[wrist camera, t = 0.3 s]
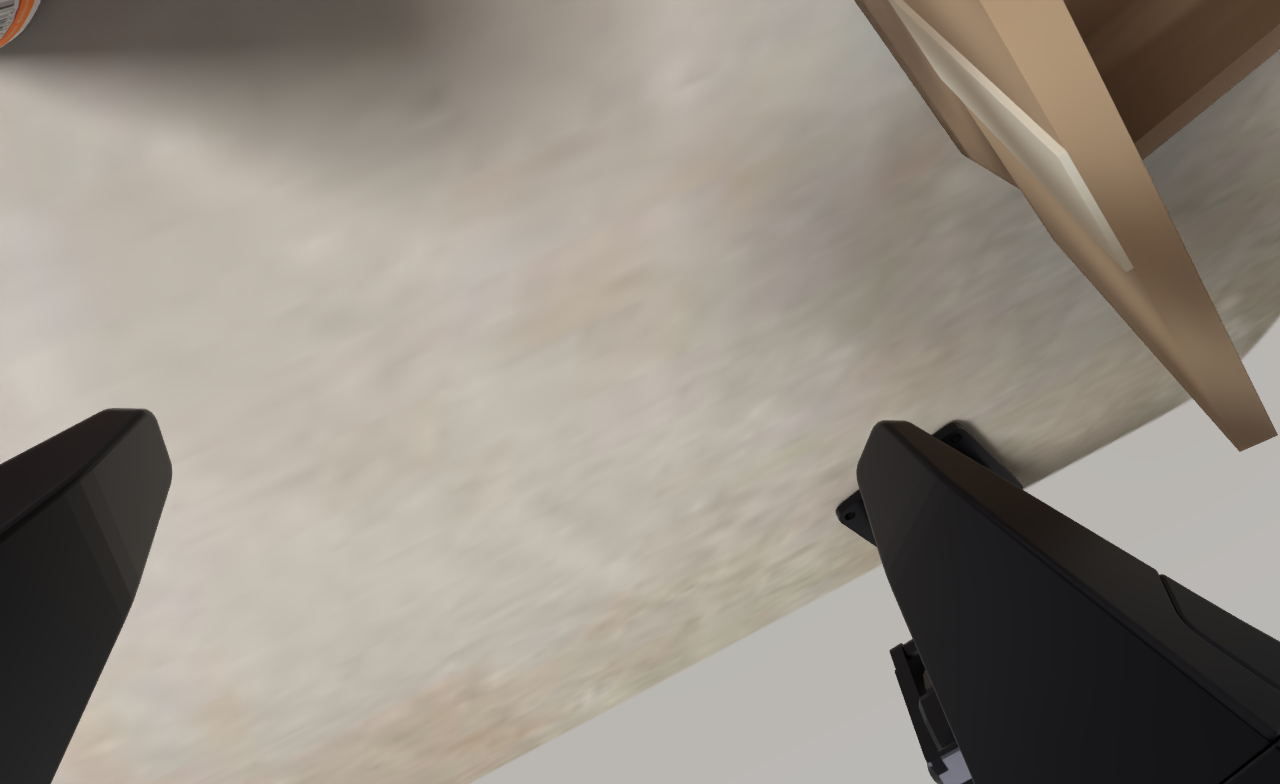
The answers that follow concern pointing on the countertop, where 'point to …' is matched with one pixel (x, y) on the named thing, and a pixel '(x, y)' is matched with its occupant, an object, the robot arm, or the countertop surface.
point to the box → (1120, 63)
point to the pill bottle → (15, 17)
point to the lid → (1087, 184)
